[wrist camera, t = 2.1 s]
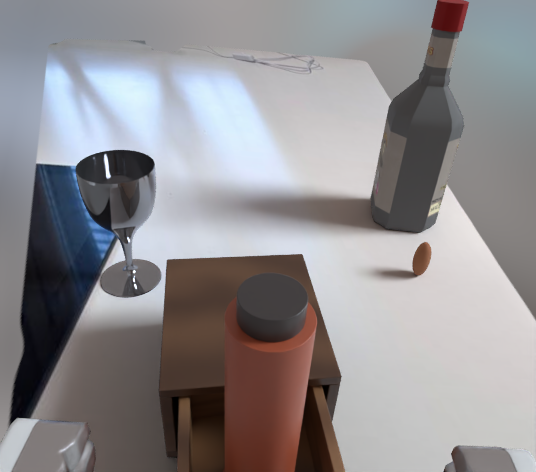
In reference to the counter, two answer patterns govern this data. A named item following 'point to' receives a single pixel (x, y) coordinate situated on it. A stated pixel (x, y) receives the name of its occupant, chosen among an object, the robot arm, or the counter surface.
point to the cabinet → (221, 330)
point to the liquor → (421, 134)
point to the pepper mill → (266, 372)
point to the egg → (421, 258)
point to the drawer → (213, 434)
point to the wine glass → (121, 212)
